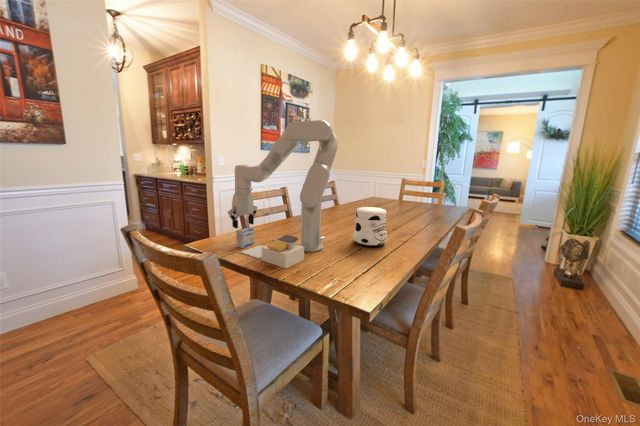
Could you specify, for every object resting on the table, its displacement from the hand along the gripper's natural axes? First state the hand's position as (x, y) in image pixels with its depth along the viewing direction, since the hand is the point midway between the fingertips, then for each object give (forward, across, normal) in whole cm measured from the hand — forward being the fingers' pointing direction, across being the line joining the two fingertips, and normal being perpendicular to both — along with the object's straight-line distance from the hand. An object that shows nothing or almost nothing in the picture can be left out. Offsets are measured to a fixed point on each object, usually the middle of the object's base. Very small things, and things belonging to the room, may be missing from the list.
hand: (243, 225), depth 138 cm
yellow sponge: (+3, +1, +28) cm, 28 cm away
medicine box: (+10, -1, +1) cm, 10 cm away
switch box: (+10, +1, +28) cm, 30 cm away
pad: (+10, +1, +13) cm, 16 cm away
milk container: (+8, -44, +48) cm, 65 cm away
